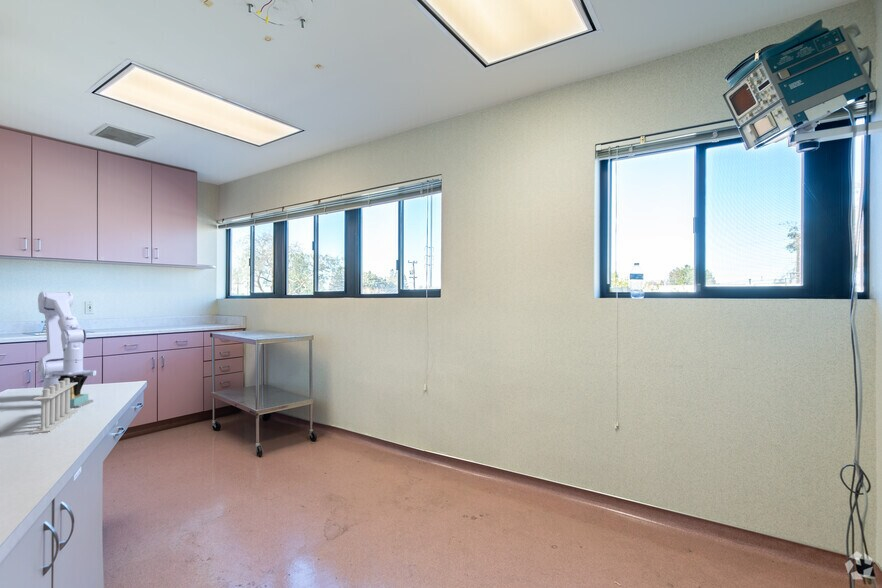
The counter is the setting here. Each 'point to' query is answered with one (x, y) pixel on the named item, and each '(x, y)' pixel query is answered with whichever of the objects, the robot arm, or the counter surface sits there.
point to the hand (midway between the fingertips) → (72, 394)
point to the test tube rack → (55, 406)
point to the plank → (73, 393)
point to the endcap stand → (80, 401)
